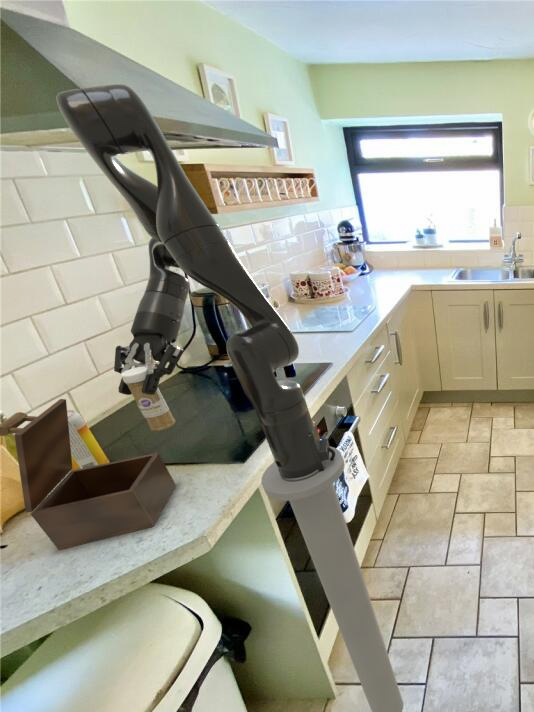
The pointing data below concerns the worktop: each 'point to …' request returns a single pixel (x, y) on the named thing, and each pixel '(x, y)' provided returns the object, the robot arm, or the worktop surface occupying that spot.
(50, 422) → the chest lid
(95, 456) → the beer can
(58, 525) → the chest
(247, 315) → the robot arm
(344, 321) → the worktop surface
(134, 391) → the sprinkles bottle
